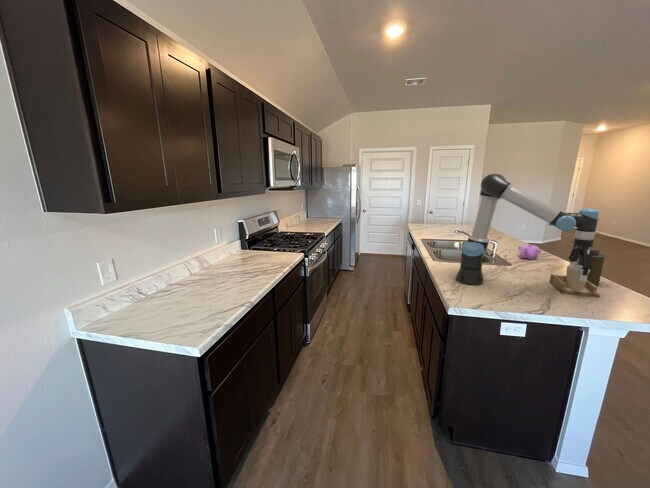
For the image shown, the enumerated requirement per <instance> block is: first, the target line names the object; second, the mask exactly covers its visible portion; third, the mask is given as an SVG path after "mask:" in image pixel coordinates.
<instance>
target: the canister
mask: <svg viewBox="0 0 650 488" xmlns="http://www.w3.org/2000/svg"><path fill="white" fill-rule="evenodd" d="M588 250H591V251H592V253H591V261H592V269H590V271H589V274H588V278H587V280H588V281H589V282H591V283H592V284H594V285H595V286H597V285H598V286H600V281H601V276H602V271H603V267H604V263H605V262H604V261H605V258H606V255H605V254H602V253H600V252H601V251H600V250H599V249H593V248H591V249H589V248H588ZM577 265H580V266H582V262H581V258H580V257H579V258H578V259H577ZM598 286H597V287H598Z"/></svg>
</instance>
